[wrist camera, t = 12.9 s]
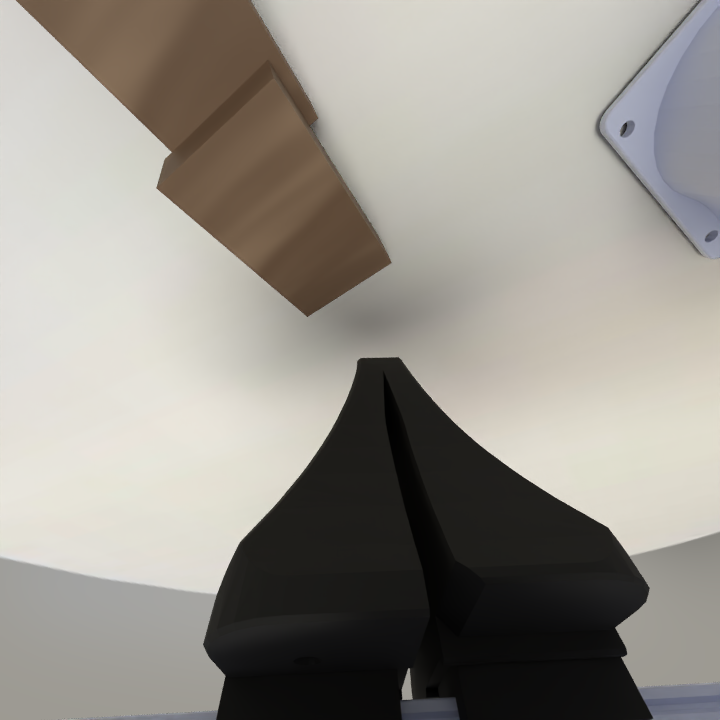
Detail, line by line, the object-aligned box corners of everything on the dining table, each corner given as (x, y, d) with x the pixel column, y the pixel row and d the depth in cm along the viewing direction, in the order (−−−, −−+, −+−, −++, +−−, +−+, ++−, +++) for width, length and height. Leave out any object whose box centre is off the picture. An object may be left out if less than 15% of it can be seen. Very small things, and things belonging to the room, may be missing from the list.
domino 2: (391, 262, 13) (273, 77, 8) (307, 316, 15) (156, 188, 9) (378, 236, 14) (267, 59, 9) (301, 288, 16) (164, 159, 10)
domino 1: (318, 118, 10) (59, -316, 5) (221, 200, 12) (-67, -81, 6) (309, 99, 12) (90, -270, 6) (222, 176, 13) (-22, -79, 8)
